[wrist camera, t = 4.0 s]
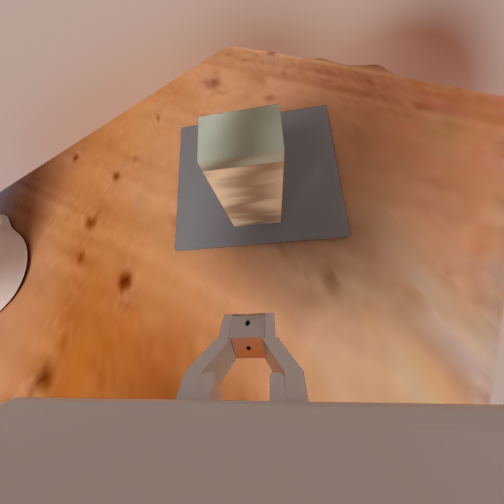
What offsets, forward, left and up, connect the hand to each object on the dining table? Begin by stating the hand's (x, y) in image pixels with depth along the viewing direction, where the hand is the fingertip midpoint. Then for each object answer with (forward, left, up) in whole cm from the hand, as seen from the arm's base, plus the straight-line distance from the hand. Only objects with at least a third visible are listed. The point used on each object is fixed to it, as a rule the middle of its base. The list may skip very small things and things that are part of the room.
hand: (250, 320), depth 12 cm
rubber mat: (0, +18, -11) cm, 21 cm away
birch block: (0, +13, -11) cm, 17 cm away
